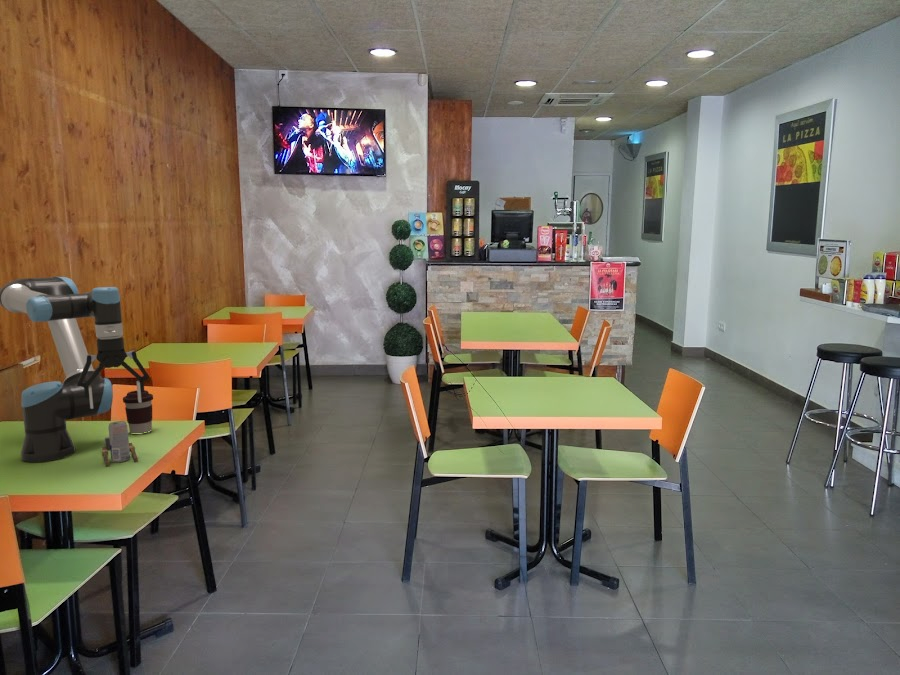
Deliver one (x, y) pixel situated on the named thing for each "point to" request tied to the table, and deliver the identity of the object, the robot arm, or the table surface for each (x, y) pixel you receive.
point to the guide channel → (131, 448)
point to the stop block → (107, 443)
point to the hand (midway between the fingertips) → (116, 404)
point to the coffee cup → (139, 411)
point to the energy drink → (119, 441)
